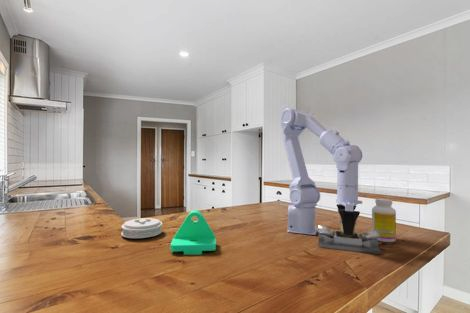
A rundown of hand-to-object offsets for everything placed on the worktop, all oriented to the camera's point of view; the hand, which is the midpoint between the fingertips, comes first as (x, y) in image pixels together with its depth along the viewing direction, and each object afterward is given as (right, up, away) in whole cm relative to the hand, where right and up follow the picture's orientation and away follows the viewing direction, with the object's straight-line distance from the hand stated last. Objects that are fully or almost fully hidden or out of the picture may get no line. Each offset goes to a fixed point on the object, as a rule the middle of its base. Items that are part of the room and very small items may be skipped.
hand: (347, 231), depth 76 cm
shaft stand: (0, -4, 0) cm, 4 cm away
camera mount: (-45, -4, -5) cm, 45 cm away
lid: (-64, -4, +8) cm, 65 cm away
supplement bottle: (+14, -5, +6) cm, 16 cm away
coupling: (0, -3, 0) cm, 3 cm away
